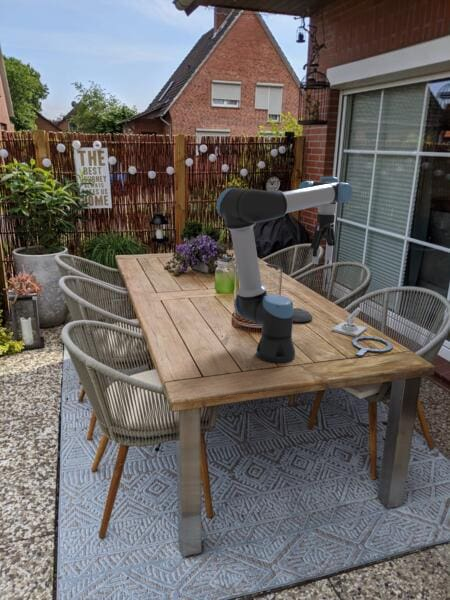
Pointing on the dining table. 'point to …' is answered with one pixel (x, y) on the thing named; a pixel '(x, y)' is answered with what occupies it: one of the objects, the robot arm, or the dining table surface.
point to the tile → (351, 333)
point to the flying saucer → (301, 315)
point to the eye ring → (364, 350)
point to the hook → (351, 322)
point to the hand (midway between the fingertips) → (321, 261)
